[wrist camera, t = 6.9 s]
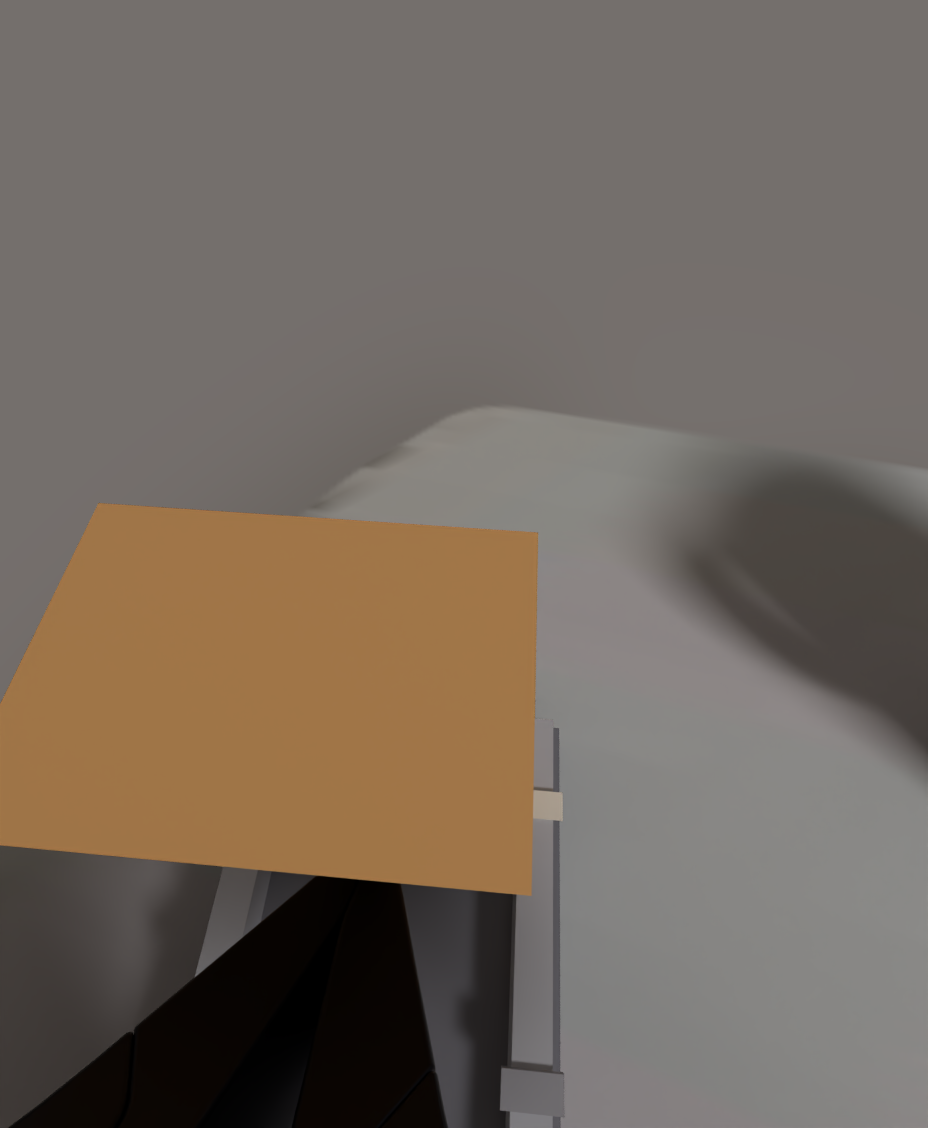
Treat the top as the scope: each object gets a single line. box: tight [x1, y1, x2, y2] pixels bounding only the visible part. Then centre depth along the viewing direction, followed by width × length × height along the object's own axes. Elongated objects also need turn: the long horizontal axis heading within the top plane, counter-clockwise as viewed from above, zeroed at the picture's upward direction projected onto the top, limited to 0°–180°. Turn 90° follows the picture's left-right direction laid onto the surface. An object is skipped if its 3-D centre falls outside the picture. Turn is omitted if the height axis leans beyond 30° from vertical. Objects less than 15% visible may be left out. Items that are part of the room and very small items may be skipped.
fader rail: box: [195, 718, 564, 1128], centre depth 11 cm, size 15×8×3 cm, turn 175°
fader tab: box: [0, 503, 538, 896], centre depth 9 cm, size 4×5×10 cm
